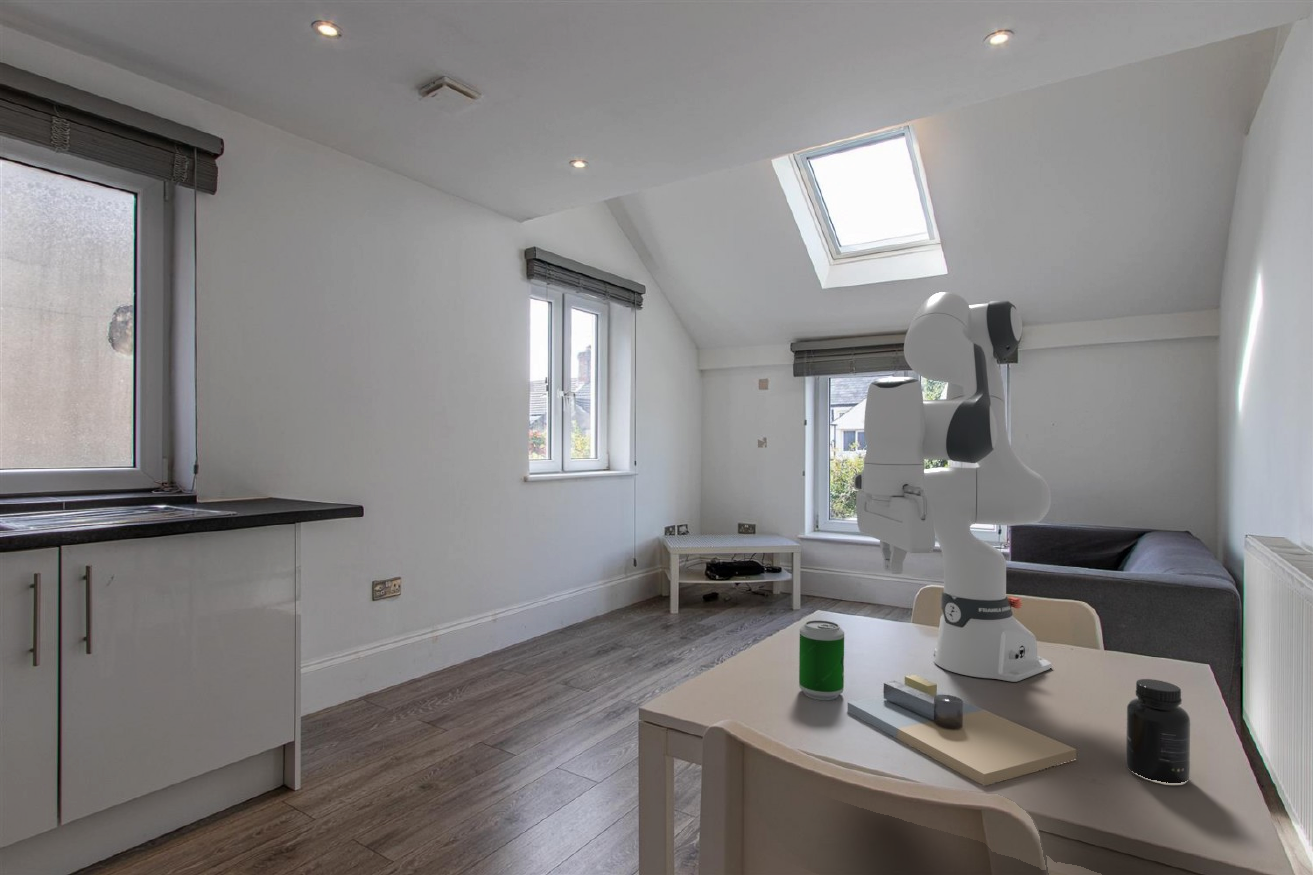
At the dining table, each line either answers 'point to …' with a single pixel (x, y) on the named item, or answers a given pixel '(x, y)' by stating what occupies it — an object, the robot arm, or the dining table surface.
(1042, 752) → the door board
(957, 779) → the dining table surface
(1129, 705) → the supplement bottle
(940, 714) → the swing bar
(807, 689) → the soda can
